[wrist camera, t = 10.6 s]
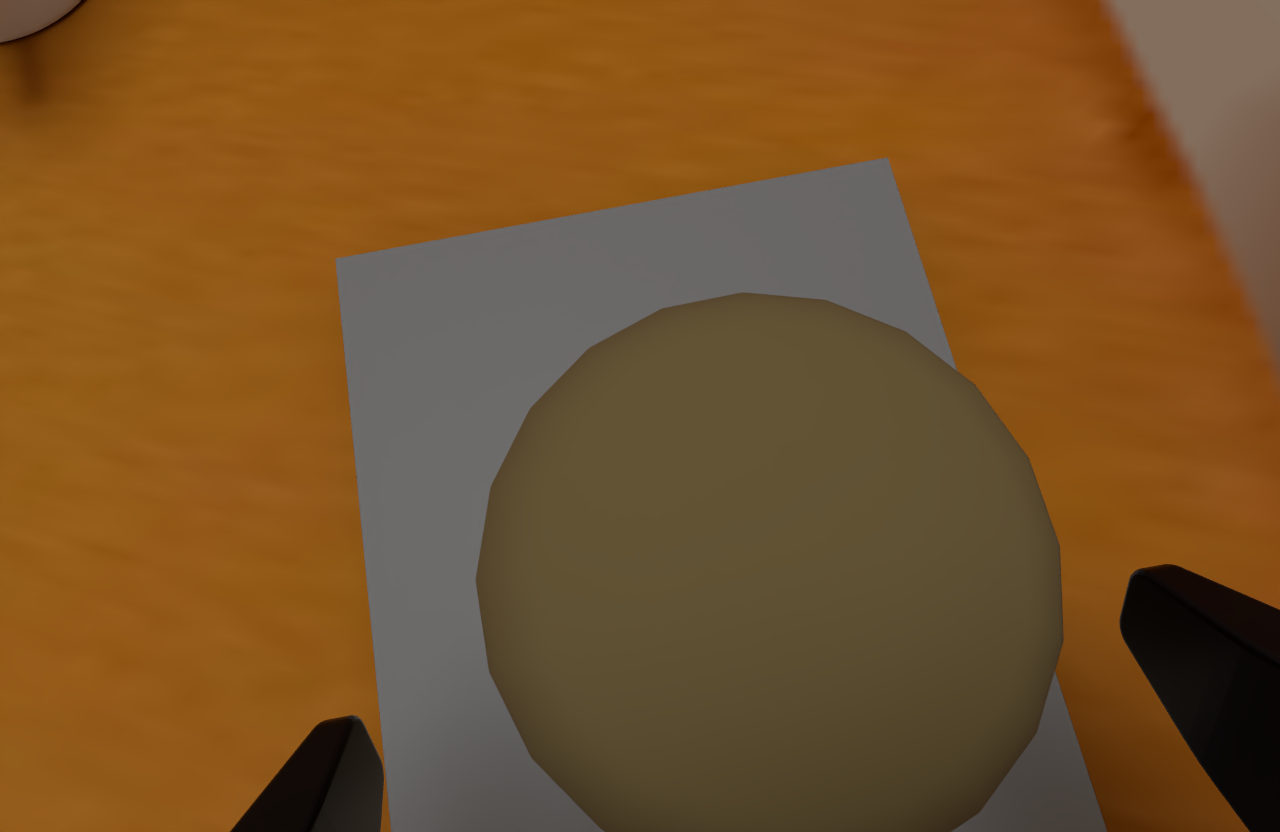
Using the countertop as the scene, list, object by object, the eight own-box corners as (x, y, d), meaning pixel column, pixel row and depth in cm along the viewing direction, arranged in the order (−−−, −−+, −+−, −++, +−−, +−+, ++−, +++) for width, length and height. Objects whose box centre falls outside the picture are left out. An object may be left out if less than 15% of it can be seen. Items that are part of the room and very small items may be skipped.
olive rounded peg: (655, 408, 17) (661, 66, 7) (889, 554, 16) (1343, 430, 6) (500, 638, 16) (196, 678, 5) (745, 811, 15) (979, 1287, 4)
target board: (1145, 1009, 15) (1175, 1032, 14) (439, 1169, 14) (425, 1205, 13) (878, 175, 20) (888, 155, 19) (348, 273, 19) (333, 256, 18)
